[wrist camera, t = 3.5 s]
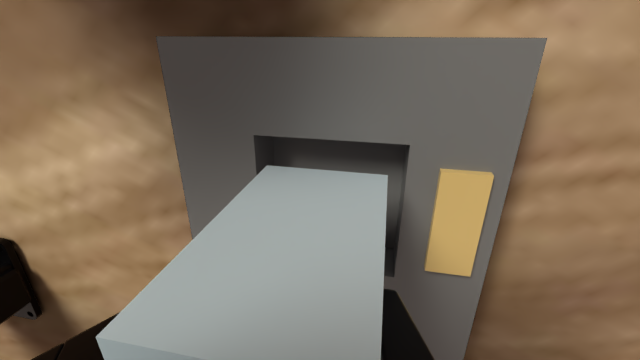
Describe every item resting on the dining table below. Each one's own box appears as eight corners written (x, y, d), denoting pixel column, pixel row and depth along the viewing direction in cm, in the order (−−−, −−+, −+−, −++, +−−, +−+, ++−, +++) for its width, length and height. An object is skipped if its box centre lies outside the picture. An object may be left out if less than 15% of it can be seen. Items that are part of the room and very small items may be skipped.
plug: (273, 262, 13) (128, 530, 6) (267, 165, 11) (57, 376, 4) (378, 276, 12) (357, 603, 5) (387, 175, 10) (376, 452, 3)
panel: (246, 409, 23) (228, 454, 20) (195, 36, 13) (149, 36, 11) (423, 449, 21) (427, 506, 18) (515, 38, 11) (551, 38, 9)
